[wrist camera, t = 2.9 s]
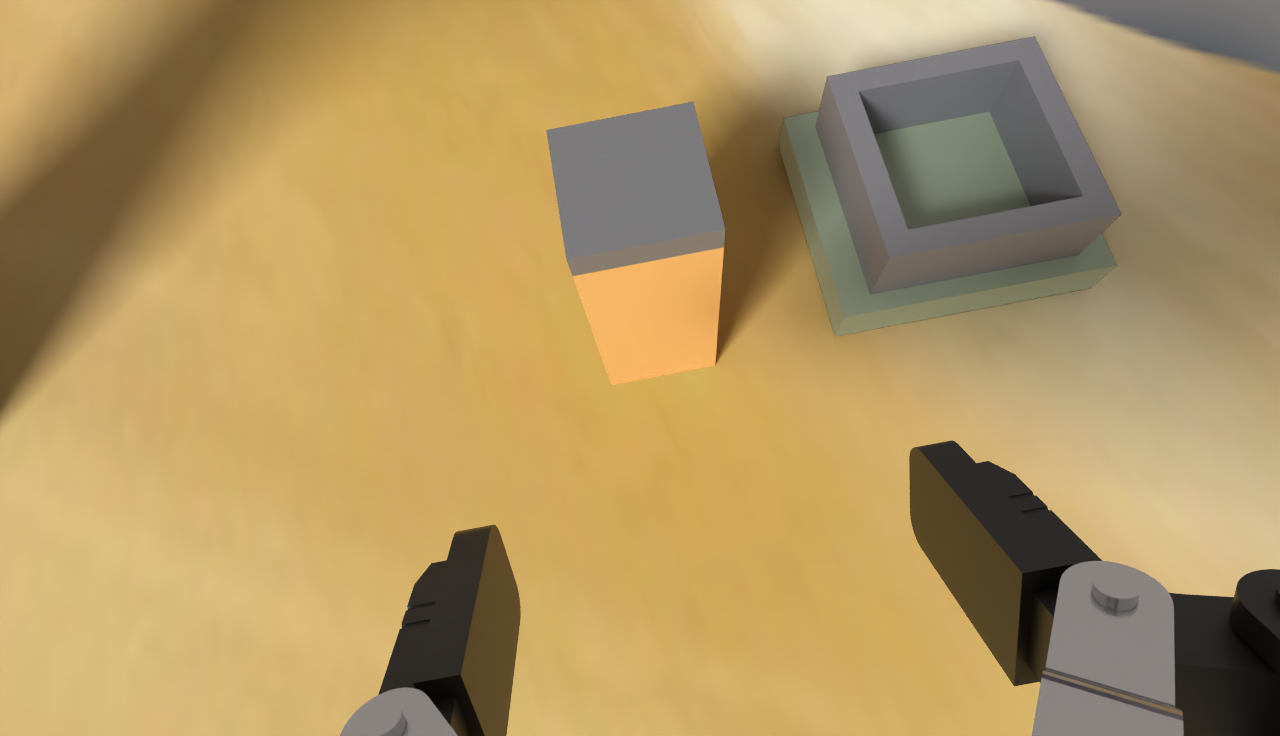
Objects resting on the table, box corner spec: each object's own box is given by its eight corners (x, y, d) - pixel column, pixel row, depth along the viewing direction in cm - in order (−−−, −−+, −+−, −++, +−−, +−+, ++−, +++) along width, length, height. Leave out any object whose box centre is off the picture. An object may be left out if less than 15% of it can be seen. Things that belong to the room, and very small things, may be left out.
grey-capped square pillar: (611, 384, 30) (566, 259, 19) (595, 291, 31) (546, 130, 21) (715, 365, 30) (725, 229, 19) (694, 272, 31) (693, 101, 21)
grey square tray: (835, 336, 30) (861, 283, 25) (778, 146, 33) (792, 68, 28) (1090, 287, 30) (1164, 225, 25) (1006, 102, 33) (1058, 16, 28)
